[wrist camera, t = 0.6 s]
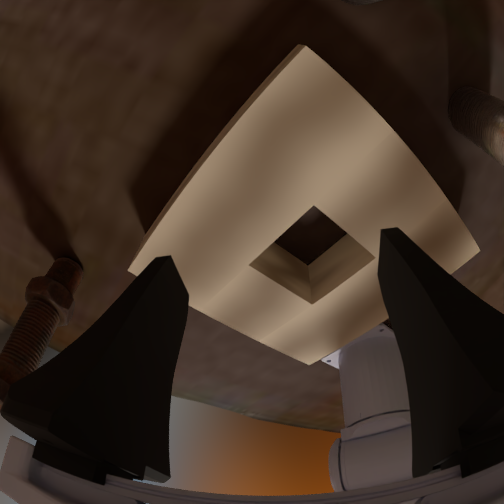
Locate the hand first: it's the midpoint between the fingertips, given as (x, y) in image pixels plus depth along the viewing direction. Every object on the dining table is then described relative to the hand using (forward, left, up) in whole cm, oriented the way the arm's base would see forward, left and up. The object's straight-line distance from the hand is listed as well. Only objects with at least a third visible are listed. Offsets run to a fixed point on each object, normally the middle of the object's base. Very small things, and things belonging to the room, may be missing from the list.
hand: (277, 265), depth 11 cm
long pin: (-7, -12, -10) cm, 17 cm away
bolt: (+8, +19, -10) cm, 23 cm away
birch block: (-5, +2, -10) cm, 12 cm away
